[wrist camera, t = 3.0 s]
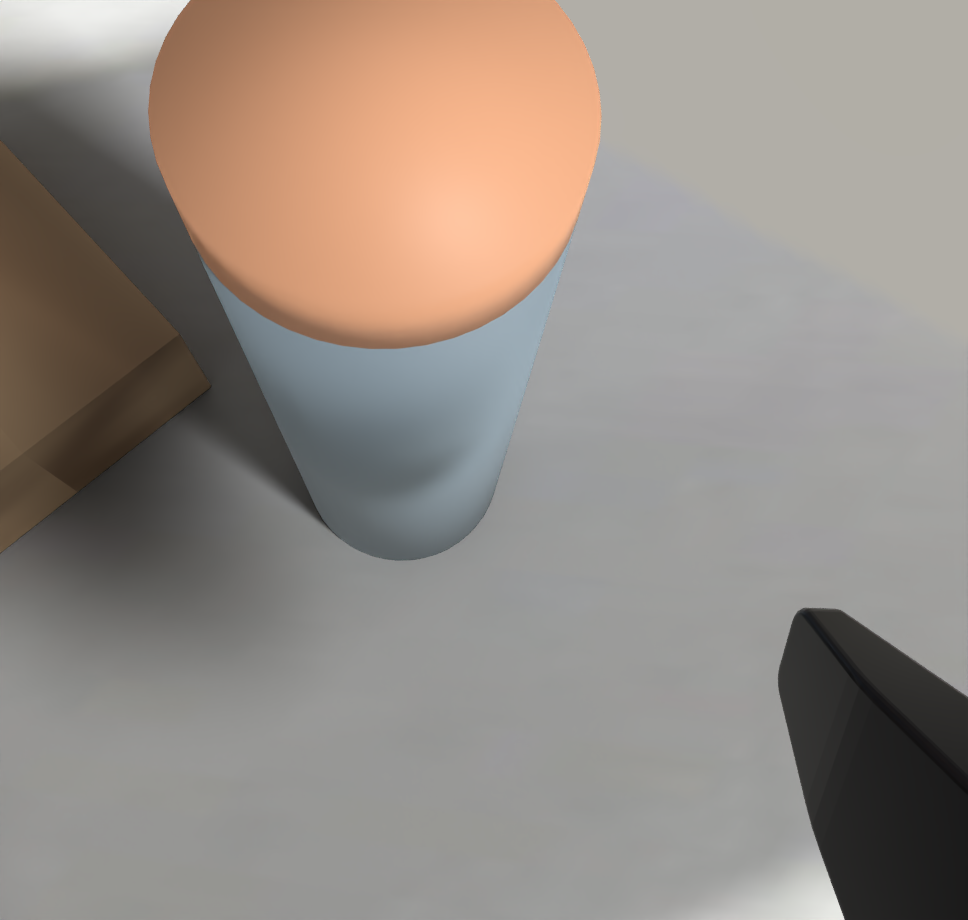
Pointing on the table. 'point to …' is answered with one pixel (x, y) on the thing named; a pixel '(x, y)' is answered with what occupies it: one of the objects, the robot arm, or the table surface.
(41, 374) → the wooden peg holder
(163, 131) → the peg
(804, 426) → the table surface
